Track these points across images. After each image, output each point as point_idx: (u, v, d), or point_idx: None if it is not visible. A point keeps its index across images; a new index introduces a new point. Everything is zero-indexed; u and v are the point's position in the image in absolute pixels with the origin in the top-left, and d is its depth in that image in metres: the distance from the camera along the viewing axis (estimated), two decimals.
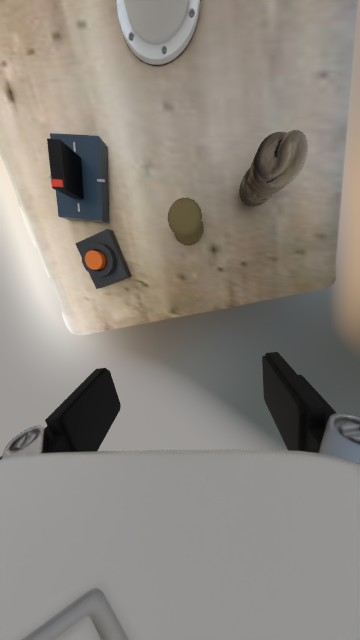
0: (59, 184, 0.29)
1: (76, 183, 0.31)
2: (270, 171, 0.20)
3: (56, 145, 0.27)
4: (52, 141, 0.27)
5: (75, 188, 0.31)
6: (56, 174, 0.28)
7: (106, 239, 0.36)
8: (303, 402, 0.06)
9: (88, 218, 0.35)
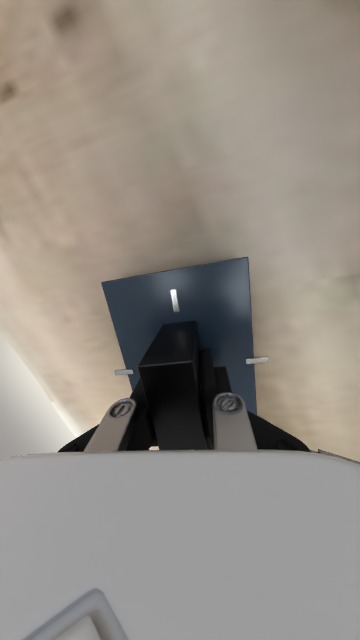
0: None
1: None
2: None
3: (175, 382, 0.07)
4: (161, 371, 0.07)
5: None
6: None
7: None
8: (204, 384, 0.08)
9: None
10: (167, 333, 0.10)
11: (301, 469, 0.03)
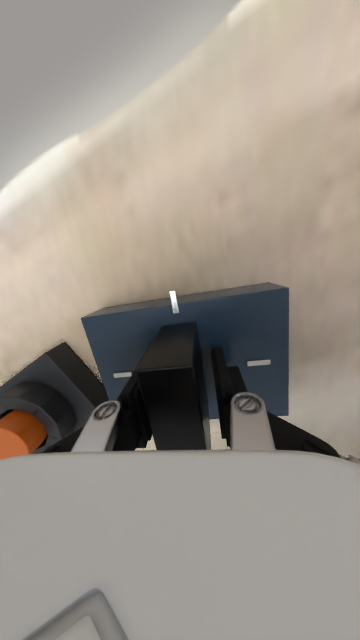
0: None
1: (206, 404, 0.10)
2: None
3: (175, 387, 0.07)
4: (160, 376, 0.06)
5: (208, 421, 0.10)
6: None
7: (87, 420, 0.16)
8: (219, 384, 0.08)
9: (109, 394, 0.14)
10: (167, 335, 0.09)
11: (301, 469, 0.03)
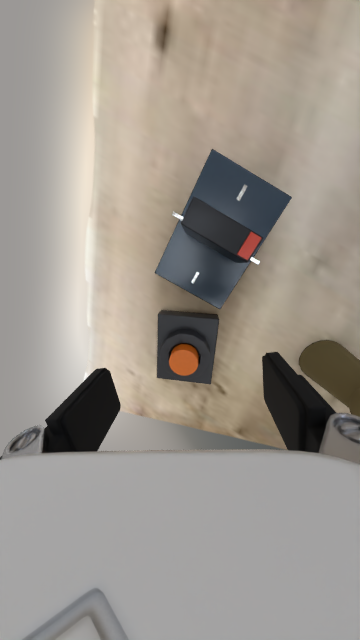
0: (254, 242, 0.14)
1: None
2: None
3: (197, 211, 0.14)
4: (189, 214, 0.14)
5: None
6: (234, 239, 0.14)
7: (208, 330, 0.23)
8: (303, 402, 0.06)
9: (200, 297, 0.21)
10: None
11: (301, 469, 0.03)
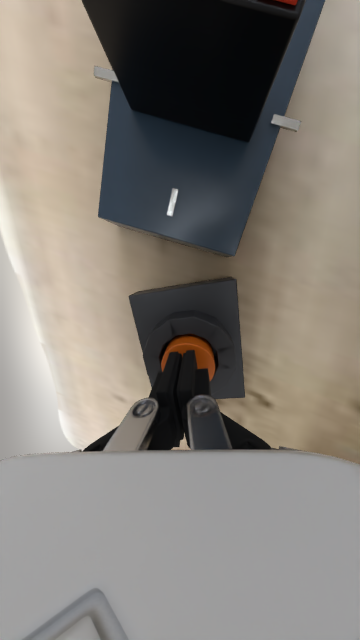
0: None
1: None
2: None
3: None
4: None
5: None
6: None
7: (221, 304, 0.13)
8: (181, 387, 0.08)
9: (192, 241, 0.11)
10: None
11: (301, 469, 0.03)
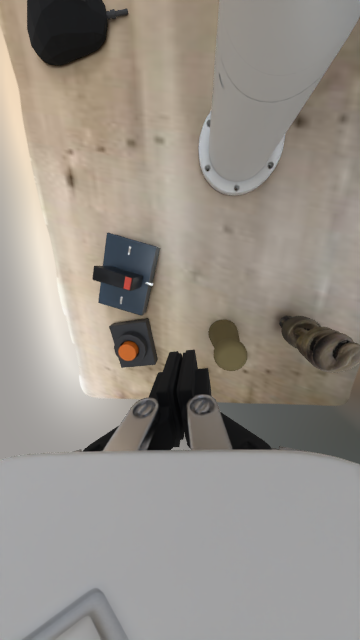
0: (128, 281, 0.27)
1: (129, 273, 0.30)
2: (326, 367, 0.22)
3: (98, 272, 0.28)
4: (95, 274, 0.28)
5: (133, 274, 0.30)
6: (119, 281, 0.28)
7: (141, 329, 0.36)
8: (181, 387, 0.08)
9: (128, 310, 0.35)
10: None
11: (301, 469, 0.03)
